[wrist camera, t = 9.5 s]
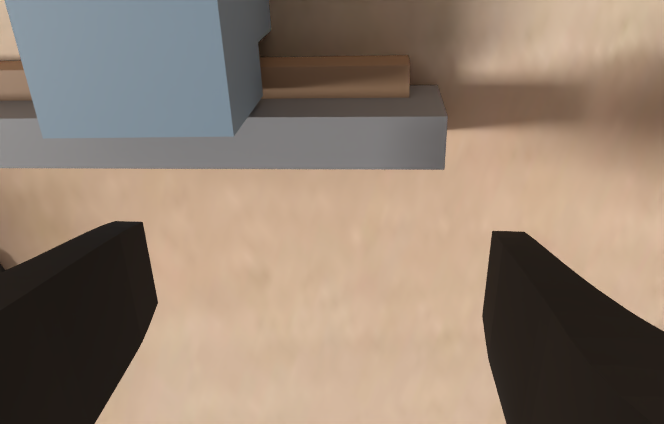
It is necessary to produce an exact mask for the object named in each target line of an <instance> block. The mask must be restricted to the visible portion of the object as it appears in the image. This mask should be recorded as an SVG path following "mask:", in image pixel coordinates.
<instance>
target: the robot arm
mask: <svg viewBox="0 0 664 424" xmlns="http://www.w3.org/2000/svg"><path fill="white" fill-rule="evenodd" d="M157 304H158V300H157V295H156V290H155V285H154V279H153V274H152V269H151V264H150V258H149V253H148V248H147V242H146V237H145V232H144V227H143V222H124V221H114V222H111V223H108V224H105V225H103V226H100V227H98V228H95V229H93V230H91V231H89V232H86V233H84V234H82V235H80V236H78V237H76V238H74V239H72V240H69V241H67V242H65V243H63V244H61V245H59V246H57V247H55V248H53V249H51V250H49V251H47V252H45V253H43V254H40V255H38V256H36V257H34V258H32V259H30V260H28V261H26V262H24V263H21V264H19V265H17V266H15V267H12V268H10V269H8V270H6V271H3V272H1V273H0V424H95V422H96V420H97V419H98V417H99V415H100V414H101V412H102V410H103V409H104V407H105V405H106V404H107V402H108V400H109V398H110V397H111V395H112V393H113V392H114V390H115V388H116V387H117V385H118V383H119V382H120V380H121V378H122V377H123V375H124V373H125V371H126V370H127V368H128V366H129V365H130V363H131V361H132V359H133V358H134V356H135V354H136V352H137V351H138V349H139V347H140V345H141V343H142V342H143V339H144V337H145V334H146V332H147V330H148V327H149V325H150V322H151V320H152V317H153V314H154V312H155V309H156V306H157ZM482 316H483V324H484V332H485V339H486V346H487V353H488V359H489V363H490V366H491V370H492V374H493V377H494V381H495V384H496V388H497V392H498V395H499V399H500V402H501V406H502V409H503V413H504V416H505V420H506V423H507V424H664V331H662V330H660V329H658V328H657V327H655V326H653V325H651V324H650V323H648V322H646V321H644V320H643V319H641V318H640V317H638V316H636V315H635V314H633V313H632V312H630V311H628V310H627V309H625V308H624V307H623V306H621V305H620V304H618V303H617V302H615V301H614V300H612V299H611V298H609V297H608V296H606V295H605V294H603V293H602V292H601V291H599V290H598V289H597V288H595V287H594V286H592V285H591V284H590V283H588V282H587V281H586V280H584V279H583V278H582V277H580V276H579V275H578V274H577V273H575V272H574V271H573V270H571V269H570V268H569V267H568V266H566V265H565V264H564V263H563V262H561V261H560V260H559V259H558V258H557V257H555V256H554V255H553V254H552V253H550V252H549V251H548V250H547V249H546V248H544V247H543V246H542V245H541V244H539V243H538V242H537V241H536V240H535V239H533V238H532V237H531V236H529V235H528V234H526V233H525V232H512V231H492V238H491V247H490V255H489V264H488V272H487V281H486V289H485V298H484V306H483V315H482Z"/></svg>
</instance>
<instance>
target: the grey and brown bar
mask: <svg viewBox="0 0 664 424" xmlns="http://www.w3.org/2000/svg"><path fill="white" fill-rule="evenodd" d="M259 58H260V68H261V79H262V89H263V97H262V98H261V99H260V101H259V102H258V104H257V105H256V106H255V108H254V109H253V110H252V112H251V113H250V115H249V116H248V117H247V119H246V120H245V122H244V123H243V124H242V126H241V127H240V129H239V130H238V131H237V133H236V134H235V136H234V137H139V138H45V139H43V137H42V133H41V130H40V126H39V122H38V119H37V115H36V112H35V108H34V104H33V101H32V97H31V94H30V90H29V86H28V83H27V79H26V76H25V72H24V68H23V65H22V61H0V168H141V169H431V170H444V168H445V152H446V135H447V119H448V116H447V113H446V110H445V107H444V103H443V100H442V97H441V94H440V91H439V88H438V85H410V62H409V56H408V55H388V56H319V57H259Z"/></svg>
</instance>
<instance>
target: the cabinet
mask: <svg viewBox="0 0 664 424" xmlns="http://www.w3.org/2000/svg"><path fill="white" fill-rule="evenodd" d="M5 4H6V7H7V11H8V14H9V18H10V22H11V25H12V29H13V32H14V36H15V40H16V43H17V47H18V50H19V54H20V58H21V61H22V65H23V68H24V72H25V76H26V79H27V83H28V86H29V90H30V94H31V97H32V101H33V104H34V108H35V112H36V115H37V119H38V122H39V126H40V130H41V133H42V137H43V139H45V138H139V137H234V136H235V134H236V133H237V131H238V130H239V129H240V127H241V126H242V124H243V123H244V122H245V120H246V119H247V117H248V116H249V115H250V113H251V112H252V110H253V109H254V108H255V106H256V105H257V104H258V102H259V101H260V99H261V98H262V97H263V89H262V79H261V68H260V58H259V47H258V42H259V41H260V40H261V39H262V38H263V37H264V36H265V35H267V34H268V33H269V32H270V31H271V20H270V9H269V0H5Z"/></svg>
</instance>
